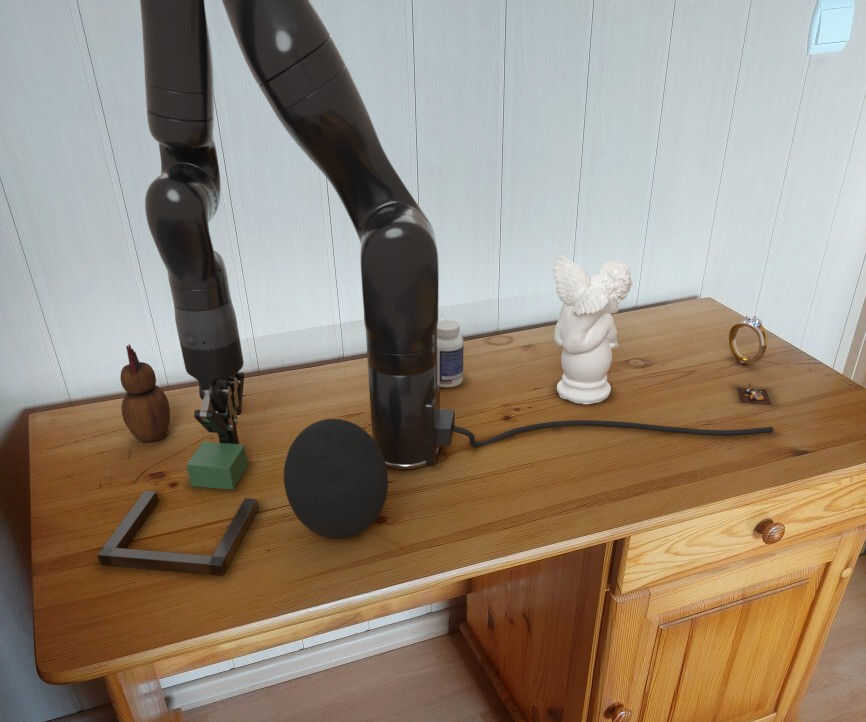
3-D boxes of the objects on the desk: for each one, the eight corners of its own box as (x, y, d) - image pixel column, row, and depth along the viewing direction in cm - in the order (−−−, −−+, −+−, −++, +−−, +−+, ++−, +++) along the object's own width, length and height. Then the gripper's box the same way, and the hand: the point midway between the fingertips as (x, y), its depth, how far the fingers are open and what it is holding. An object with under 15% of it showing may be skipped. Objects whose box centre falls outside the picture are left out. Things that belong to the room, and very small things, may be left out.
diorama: (744, 400, 128) (748, 388, 127) (741, 389, 131) (744, 377, 130) (764, 401, 128) (767, 389, 126) (760, 390, 131) (764, 378, 129)
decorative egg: (340, 574, 95) (329, 466, 86) (271, 533, 102) (254, 428, 93) (410, 526, 103) (407, 421, 94) (342, 490, 109) (332, 389, 100)
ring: (764, 369, 137) (776, 323, 132) (749, 372, 136) (761, 327, 131) (735, 353, 142) (745, 308, 137) (720, 356, 140) (730, 311, 136)
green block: (248, 466, 114) (244, 444, 112) (233, 490, 109) (229, 468, 107) (207, 462, 115) (203, 441, 113) (191, 486, 110) (186, 464, 108)
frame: (258, 508, 106) (256, 498, 105) (223, 576, 95) (220, 565, 94) (147, 500, 108) (144, 490, 107) (100, 565, 97) (97, 554, 96)
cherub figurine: (612, 378, 134) (631, 243, 121) (628, 416, 124) (651, 273, 111) (538, 380, 134) (549, 244, 120) (549, 417, 124) (562, 274, 111)
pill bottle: (469, 378, 135) (470, 322, 129) (452, 391, 131) (452, 334, 125) (441, 370, 137) (441, 315, 131) (424, 383, 133) (423, 326, 127)
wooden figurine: (160, 449, 118) (136, 352, 108) (123, 445, 119) (96, 349, 109) (180, 426, 123) (159, 332, 114) (145, 422, 124) (121, 328, 115)
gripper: (218, 359, 99) (240, 478, 110) (253, 315, 109) (270, 428, 120) (159, 355, 100) (187, 473, 111) (200, 312, 110) (222, 425, 121)
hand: (230, 450), depth 115 cm, fingers closed
